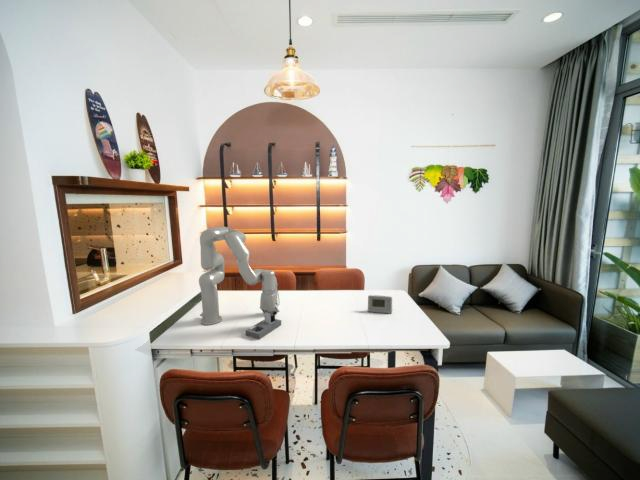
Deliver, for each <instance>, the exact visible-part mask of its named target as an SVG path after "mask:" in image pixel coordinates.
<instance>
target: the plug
mask: <svg viewBox="0 0 640 480" xmlns="http://www.w3.org/2000/svg"><path fill="white" fill-rule="evenodd" d="M273 313H274V312H273ZM271 316H272V315H271V312H270V311H267V312H265V316H264V319H265V323H268V324H272V323H273V322H271ZM274 322H275V321H274Z"/></svg>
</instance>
